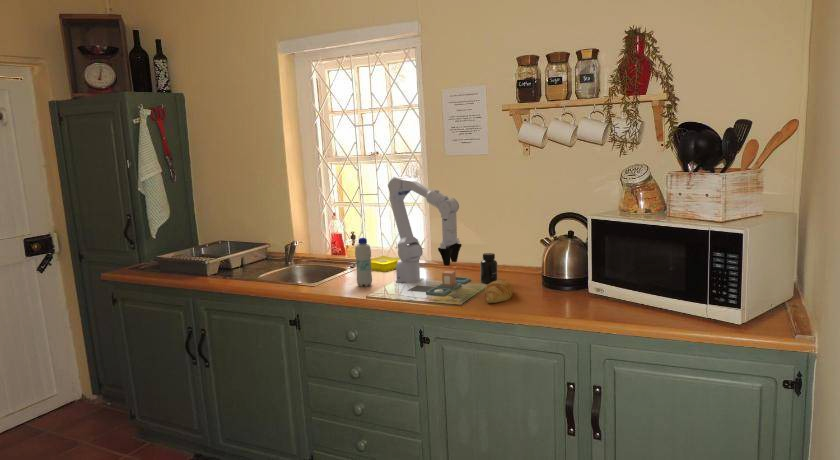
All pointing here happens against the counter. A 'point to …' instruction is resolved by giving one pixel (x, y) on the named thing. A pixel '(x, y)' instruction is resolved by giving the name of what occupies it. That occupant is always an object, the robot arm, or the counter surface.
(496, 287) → the bread loaf
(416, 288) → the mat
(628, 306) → the counter surface
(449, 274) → the brown rectangular block
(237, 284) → the counter surface
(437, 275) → the counter surface
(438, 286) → the dish
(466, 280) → the dish
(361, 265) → the bottle
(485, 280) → the supplement bottle
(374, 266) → the yellow food container
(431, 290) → the dish
